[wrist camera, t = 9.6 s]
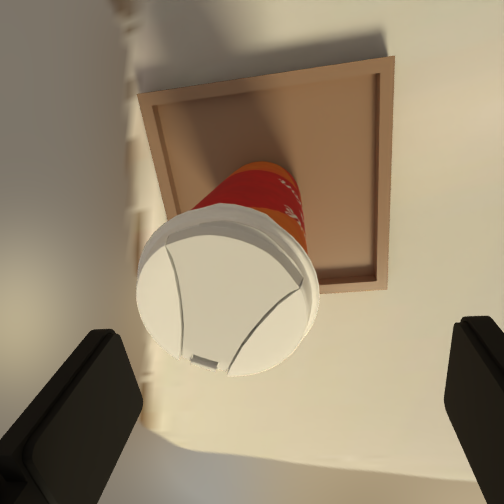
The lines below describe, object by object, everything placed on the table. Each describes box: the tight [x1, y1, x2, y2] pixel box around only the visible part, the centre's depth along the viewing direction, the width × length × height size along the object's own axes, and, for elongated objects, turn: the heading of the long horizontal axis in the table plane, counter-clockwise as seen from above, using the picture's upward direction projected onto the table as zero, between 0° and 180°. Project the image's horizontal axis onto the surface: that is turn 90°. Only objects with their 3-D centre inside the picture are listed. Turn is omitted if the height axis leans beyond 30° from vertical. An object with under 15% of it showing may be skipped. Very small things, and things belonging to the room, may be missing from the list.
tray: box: [137, 56, 395, 294], centre depth 26 cm, size 16×16×1 cm
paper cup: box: [136, 161, 320, 377], centre depth 20 cm, size 8×8×14 cm
